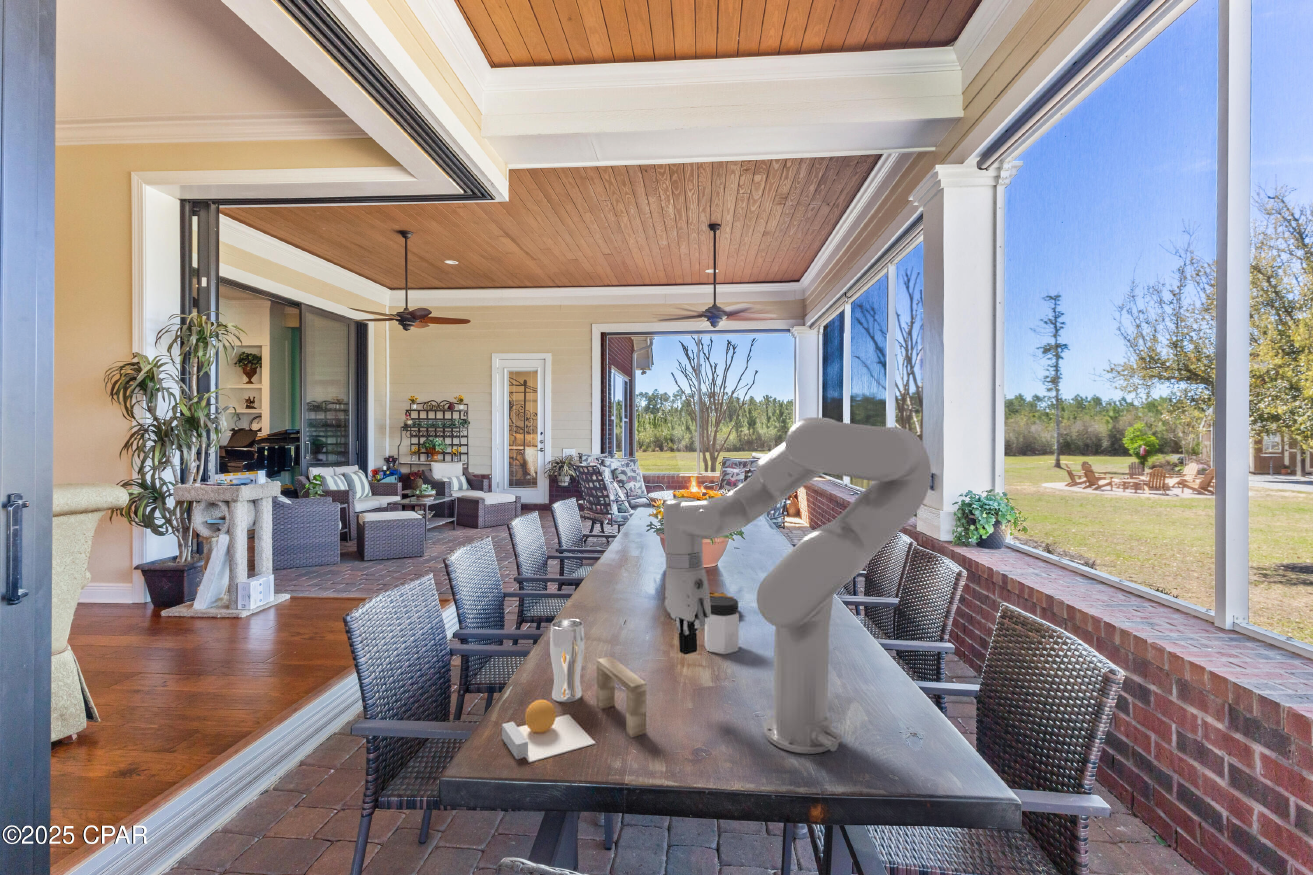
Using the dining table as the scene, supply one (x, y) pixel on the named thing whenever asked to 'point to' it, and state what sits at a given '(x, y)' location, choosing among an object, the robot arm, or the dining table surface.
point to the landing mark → (555, 739)
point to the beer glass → (567, 658)
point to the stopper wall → (515, 740)
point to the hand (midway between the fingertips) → (688, 651)
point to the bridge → (634, 699)
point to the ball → (540, 716)
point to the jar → (722, 625)
